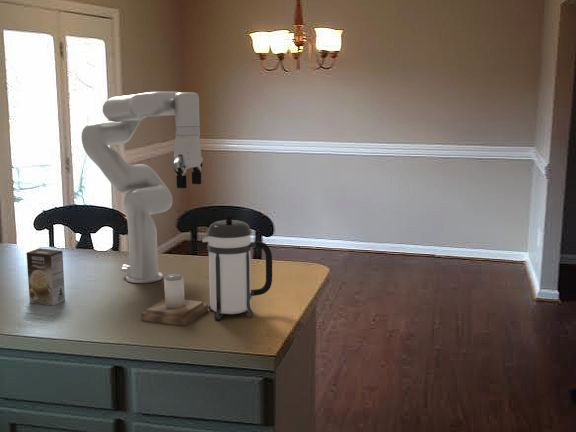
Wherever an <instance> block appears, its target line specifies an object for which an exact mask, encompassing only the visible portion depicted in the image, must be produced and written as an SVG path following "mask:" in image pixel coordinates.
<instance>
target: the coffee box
mask: <svg viewBox="0 0 576 432" xmlns="http://www.w3.org/2000/svg"><path fill="white" fill-rule="evenodd" d="M63 256H64V255H63V250H57V249H48V248H40V247H39V248H36V249H34V250H30V251H28V252H26V265H27V268H26V269H27V280H28V282H27V283H28V295H29V296H28V297H29V304H30V303H31V304H37V305H45V306H51V305H52V306H53V305H54V306H56V305H58V304H60V303H62V302H64V301H66V294H65V293H66V292H65V291H66V290H65V274H64V273H65V272H64V257H63Z"/></svg>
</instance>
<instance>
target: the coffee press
mask: <svg viewBox="0 0 576 432" xmlns="http://www.w3.org/2000/svg"><path fill="white" fill-rule="evenodd" d="M233 217H234V215H233V214H232V213H231V212H226V213H225V215H224V218H225V219H223V220H217V221H214V222H213V223H211V224H210V225H209V227H208V229H207V230H206V234H205V235H204V237H203V239H202V243H207V251H208V276H209V279H208V280H209V305H208V311H213V312H215V315H214V320H215V321H221V320H222V318H223V316H224V315H237V314H241V313H243V314H245V316H246V317H247V318H252V317H253V316H254V312H253V309H252V308H251V306H252V297H255V296H261V295H263V294H266V293H267V292H268V291H270V288H271V287H272V284H273V256H272V255H273V254H272V251H271V249H270V247H269V246H268V244H266V243H264V242H262V241H259V240H258V241H251V235H252V229H251V228H250V226H249V224H248V223H246V222H245V221H241V220H238V219H237V220H236V219H235V220H234V218H233ZM252 248H258V249H262V250H263V252H264V255H265V283H264V285H263V286H262V287H260V288H257V289H256V288H255V289H252V271H251V270H252V268H251V266H252V265H251V264H252V263H251V261H252V258H251V256H252V255H251V251H252Z"/></svg>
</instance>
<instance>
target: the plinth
mask: <svg viewBox="0 0 576 432" xmlns="http://www.w3.org/2000/svg"><path fill="white" fill-rule="evenodd" d="M207 312H209V305H208V304H207V303H204V301H200V300H199V301H198V300H190V299H185V305H184V306H183V307H180V308H168V307H166V305H165V298H164V299H162V300H161V301H158V302H157V303H155V304H153V305H151V306H150V307H148V308H146V309H145V310H144V311H143V312H141V313H140V316H141V317H140V318H141V320H140V321H145V322H151V323H152V322H153V323H160V324H166V325H167V324H169V325H176V326H184V327H185V326H186V325H187V326H188V325H189V324H190V323H192V322H193V321H195V320H197V318H199V317H201V316H202V315H204V314H206V313H207Z"/></svg>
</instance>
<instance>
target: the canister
mask: <svg viewBox="0 0 576 432" xmlns="http://www.w3.org/2000/svg"><path fill="white" fill-rule="evenodd" d="M184 279H185V278H184V276H183V274H182V273H170V274H169V273H168V274H166V275H165V276H164V277H163V282H164V283H163V285H164V286H163V287H164V299H165V305H166V307H168V308H180V307H183V306H184V305H185V300H186V299H185V298H186V297H185V280H184Z"/></svg>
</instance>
